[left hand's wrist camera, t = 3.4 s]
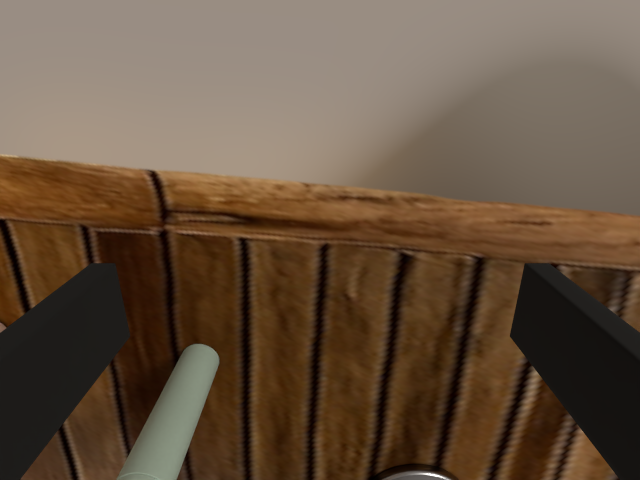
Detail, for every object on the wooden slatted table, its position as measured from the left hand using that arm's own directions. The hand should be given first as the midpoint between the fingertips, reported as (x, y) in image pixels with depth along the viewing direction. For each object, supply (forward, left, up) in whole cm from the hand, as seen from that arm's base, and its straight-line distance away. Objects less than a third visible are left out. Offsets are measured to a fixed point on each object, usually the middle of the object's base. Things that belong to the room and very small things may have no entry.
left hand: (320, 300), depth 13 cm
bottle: (-24, +15, -28) cm, 40 cm away
